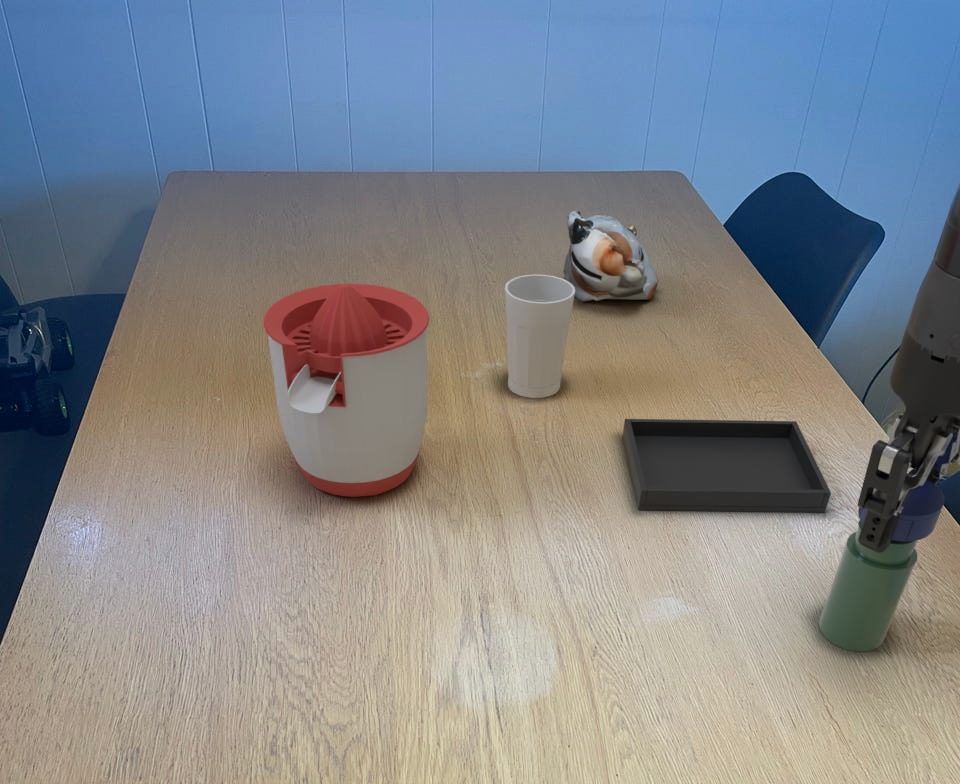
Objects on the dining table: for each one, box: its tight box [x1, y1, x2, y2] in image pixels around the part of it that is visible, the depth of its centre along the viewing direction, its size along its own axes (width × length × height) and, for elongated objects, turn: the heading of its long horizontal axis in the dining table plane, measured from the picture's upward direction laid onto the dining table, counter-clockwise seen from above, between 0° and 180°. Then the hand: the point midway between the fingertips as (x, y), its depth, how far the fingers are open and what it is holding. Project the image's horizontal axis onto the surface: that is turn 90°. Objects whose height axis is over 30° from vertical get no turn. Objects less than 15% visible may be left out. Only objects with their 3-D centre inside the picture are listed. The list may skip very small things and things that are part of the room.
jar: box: [818, 519, 919, 653], centre depth 82 cm, size 6×6×11 cm
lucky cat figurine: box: [563, 209, 659, 303], centre depth 133 cm, size 15×12×14 cm
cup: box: [504, 274, 575, 399], centre depth 113 cm, size 8×8×12 cm
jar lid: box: [857, 472, 945, 541], centre depth 76 cm, size 6×6×2 cm
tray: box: [621, 418, 832, 513], centre depth 103 cm, size 19×14×2 cm
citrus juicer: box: [263, 283, 430, 498], centre depth 95 cm, size 16×17×20 cm
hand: (891, 529), depth 78 cm, fingers closed on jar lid, 6 cm apart
